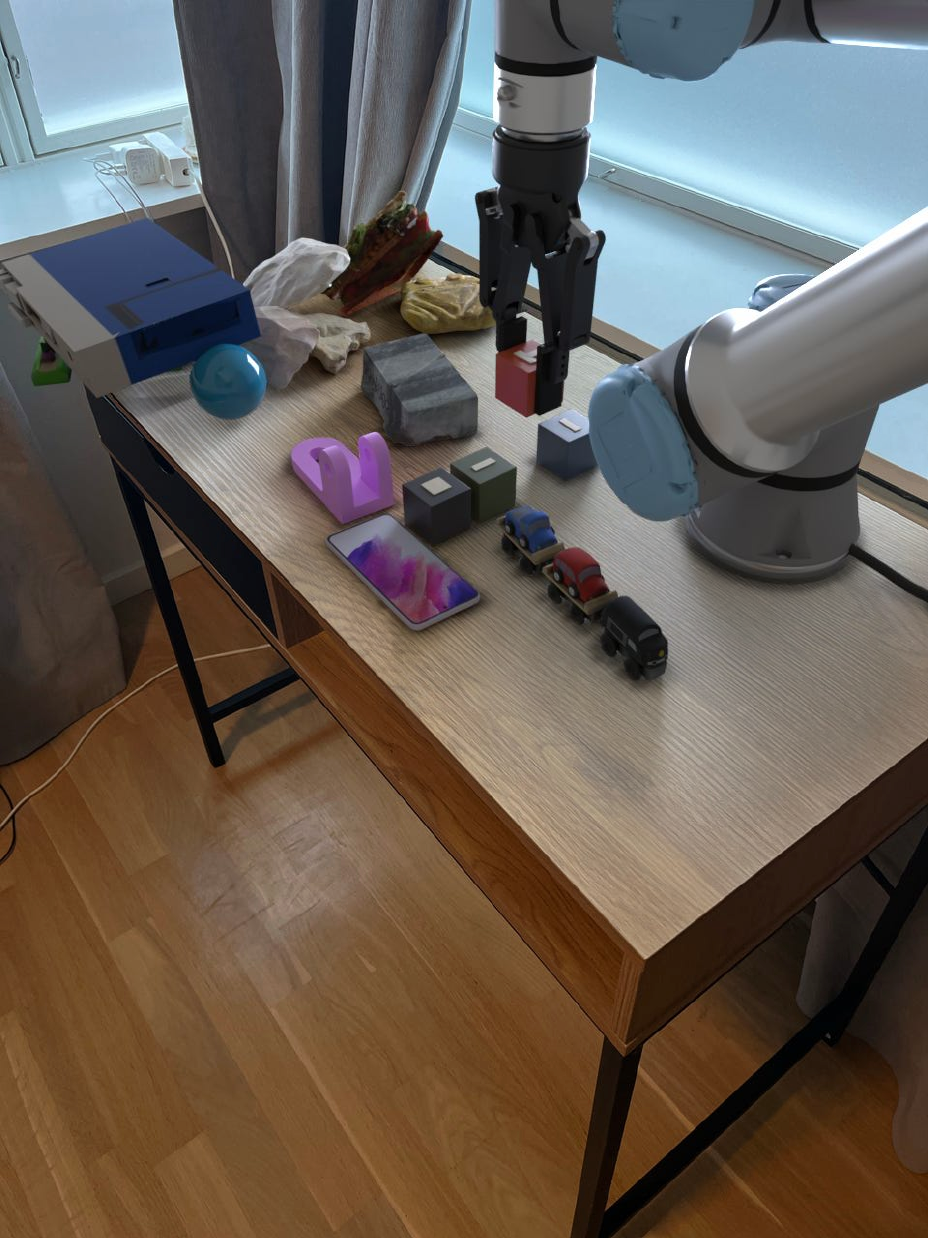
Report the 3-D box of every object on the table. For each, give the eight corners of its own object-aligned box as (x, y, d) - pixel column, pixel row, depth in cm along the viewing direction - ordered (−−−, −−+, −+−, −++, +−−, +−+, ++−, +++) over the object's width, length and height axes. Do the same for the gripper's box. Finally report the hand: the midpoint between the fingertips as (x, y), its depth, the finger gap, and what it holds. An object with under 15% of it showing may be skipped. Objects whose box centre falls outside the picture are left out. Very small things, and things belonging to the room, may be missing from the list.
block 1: (471, 528, 90) (471, 487, 87) (432, 546, 88) (431, 506, 85) (442, 505, 93) (441, 465, 90) (404, 523, 91) (401, 483, 88)
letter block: (563, 401, 89) (566, 356, 86) (526, 418, 87) (528, 372, 84) (531, 382, 92) (533, 337, 89) (494, 397, 90) (495, 352, 87)
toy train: (638, 694, 75) (646, 647, 71) (485, 541, 89) (486, 496, 85) (675, 675, 76) (685, 629, 73) (520, 528, 90) (522, 483, 87)
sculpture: (407, 316, 114) (387, 268, 125) (409, 344, 117) (388, 294, 128) (515, 305, 116) (485, 259, 127) (514, 332, 119) (485, 285, 130)
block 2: (515, 506, 93) (517, 466, 90) (479, 523, 91) (479, 483, 88) (486, 484, 96) (486, 445, 92) (450, 501, 94) (449, 461, 90)
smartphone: (388, 510, 91) (484, 594, 82) (388, 517, 92) (483, 602, 83) (321, 537, 88) (413, 628, 79) (322, 544, 88) (413, 635, 80)
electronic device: (261, 336, 104) (156, 256, 123) (249, 289, 100) (143, 215, 119) (85, 402, 96) (3, 306, 115) (66, 354, 93) (-16, 263, 112)
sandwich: (465, 232, 123) (428, 178, 122) (419, 245, 113) (378, 186, 112) (383, 309, 133) (349, 259, 132) (335, 327, 123) (297, 274, 122)
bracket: (393, 504, 93) (389, 443, 88) (342, 524, 91) (335, 462, 86) (332, 443, 101) (324, 383, 96) (283, 459, 99) (273, 399, 94)
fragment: (275, 267, 130) (254, 234, 127) (391, 240, 118) (371, 203, 115) (219, 338, 123) (195, 305, 119) (336, 317, 111) (313, 280, 108)
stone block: (399, 455, 100) (396, 411, 96) (354, 390, 109) (349, 347, 106) (478, 435, 102) (478, 391, 98) (427, 373, 112) (425, 331, 108)
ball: (222, 447, 104) (283, 411, 102) (171, 395, 98) (235, 356, 96) (222, 404, 109) (280, 369, 107) (174, 352, 104) (234, 314, 102)
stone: (395, 348, 113) (318, 356, 108) (390, 375, 116) (315, 384, 110) (344, 296, 120) (269, 301, 115) (340, 322, 123) (267, 328, 118)
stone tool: (336, 341, 111) (244, 296, 117) (321, 316, 107) (225, 270, 112) (291, 402, 110) (200, 354, 115) (274, 379, 105) (179, 330, 111)
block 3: (598, 465, 98) (602, 426, 95) (565, 481, 96) (568, 442, 93) (568, 446, 100) (571, 407, 97) (535, 461, 98) (537, 422, 95)
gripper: (433, 108, 77) (439, 373, 93) (585, 167, 67) (562, 453, 83) (505, 91, 80) (499, 349, 96) (660, 145, 70) (625, 424, 86)
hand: (528, 397), depth 89 cm, fingers closed on letter block, 4 cm apart
